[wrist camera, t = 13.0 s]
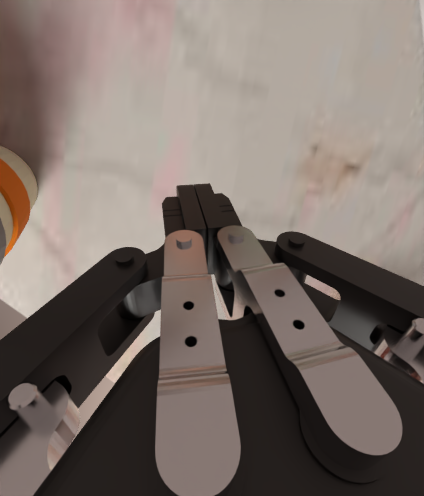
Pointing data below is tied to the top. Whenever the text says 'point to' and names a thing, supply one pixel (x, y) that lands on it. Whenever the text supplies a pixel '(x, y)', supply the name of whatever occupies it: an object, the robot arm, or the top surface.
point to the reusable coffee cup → (14, 198)
